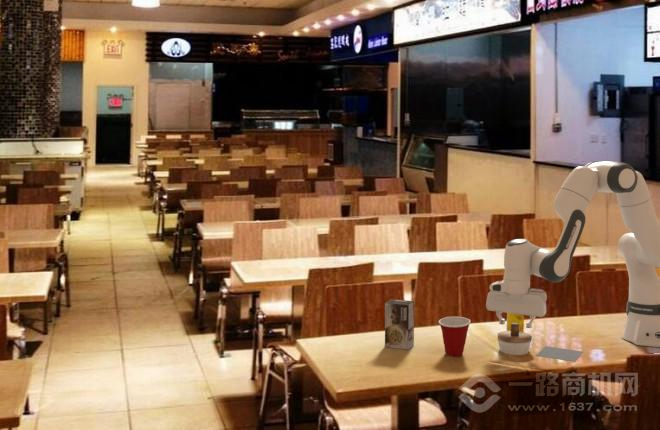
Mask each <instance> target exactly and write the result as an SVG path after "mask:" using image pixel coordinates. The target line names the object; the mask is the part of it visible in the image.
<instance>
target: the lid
mask: <svg viewBox="0 0 660 430" xmlns="http://www.w3.org/2000/svg"><path fill="white" fill-rule="evenodd" d="M498 339H500V340H503V341H506V342H512V343H525V342H530V341H531V342H532V340H533V336H532V334H530V333H529V332H524V331H523V332H520V331H519V324H518V323H511V331H507V330H502V331H499V332H498V333H497V340H498Z"/></svg>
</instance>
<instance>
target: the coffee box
mask: <svg viewBox="0 0 660 430" xmlns="http://www.w3.org/2000/svg"><path fill="white" fill-rule="evenodd" d="M414 341H415V301H414V300H404V299H395V298H393V299H392V298H390V299H388V300H387V301H386V302H384V347H386V348H392V349H400V350H411V348H413V347H414V346H415V342H414Z"/></svg>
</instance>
